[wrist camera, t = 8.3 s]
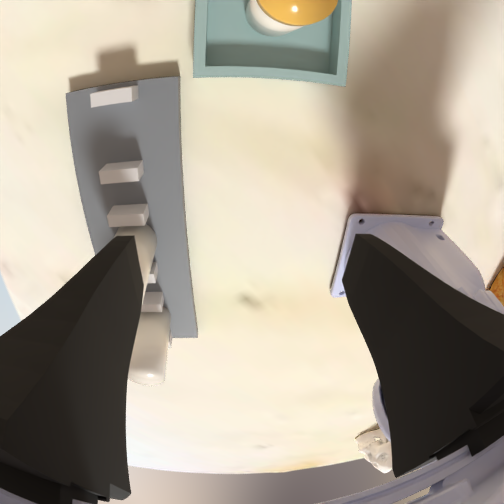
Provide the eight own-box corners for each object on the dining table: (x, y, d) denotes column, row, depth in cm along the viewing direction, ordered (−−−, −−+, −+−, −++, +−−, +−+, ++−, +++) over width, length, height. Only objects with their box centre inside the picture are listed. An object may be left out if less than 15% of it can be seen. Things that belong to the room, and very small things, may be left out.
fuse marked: (303, -4, 12) (342, -31, 7) (296, 41, 13) (333, 32, 9) (248, -13, 11) (261, -49, 6) (241, 33, 13) (252, 16, 8)
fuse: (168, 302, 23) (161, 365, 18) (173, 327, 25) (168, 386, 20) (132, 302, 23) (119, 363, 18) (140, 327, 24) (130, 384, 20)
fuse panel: (180, 76, 14) (175, 77, 13) (197, 330, 26) (197, 349, 25) (71, 92, 14) (54, 96, 12) (125, 330, 26) (121, 348, 24)
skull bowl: (360, 436, 51) (397, 468, 43) (392, 399, 59) (425, 428, 52) (340, 451, 56) (374, 481, 49) (372, 418, 65) (403, 444, 58)
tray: (340, -30, 11) (352, -37, 9) (334, 84, 15) (345, 86, 14) (201, -44, 10) (199, -54, 8) (195, 77, 15) (193, 77, 13)
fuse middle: (154, 219, 19) (135, 279, 14) (159, 257, 20) (146, 320, 16) (112, 221, 18) (82, 280, 14) (120, 258, 20) (98, 319, 15)
